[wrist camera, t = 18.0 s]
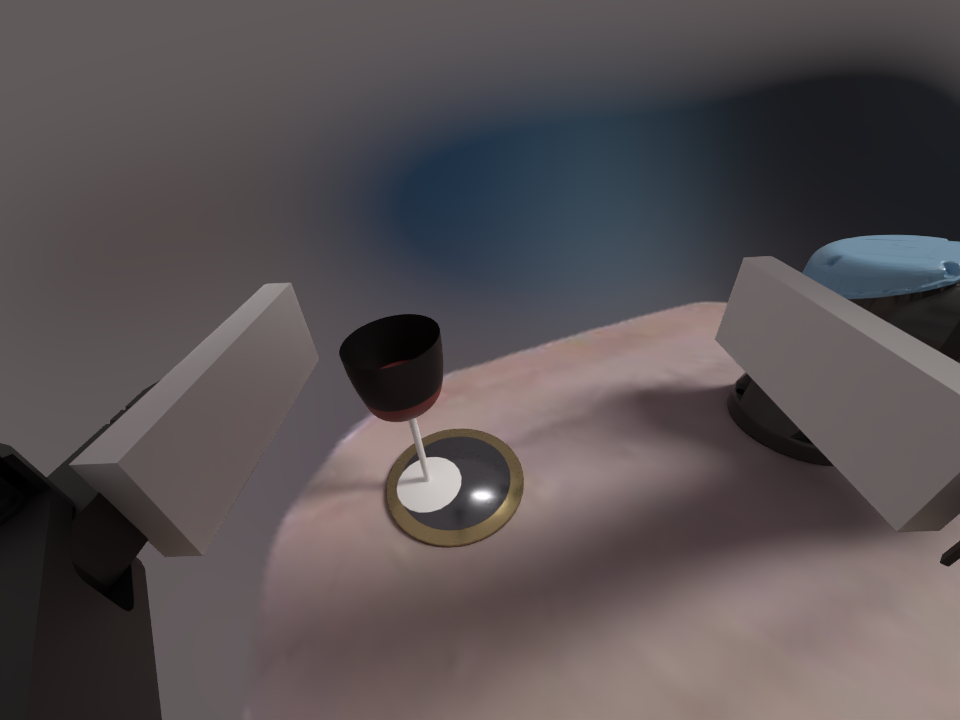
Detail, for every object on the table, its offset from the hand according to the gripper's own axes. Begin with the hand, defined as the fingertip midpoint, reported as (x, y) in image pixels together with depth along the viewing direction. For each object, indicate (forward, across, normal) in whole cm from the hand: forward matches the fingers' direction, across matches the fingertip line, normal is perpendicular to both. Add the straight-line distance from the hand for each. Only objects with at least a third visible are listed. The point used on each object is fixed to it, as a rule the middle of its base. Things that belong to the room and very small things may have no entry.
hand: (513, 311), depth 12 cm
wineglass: (+17, -9, -32) cm, 37 cm away
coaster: (+18, -6, -32) cm, 37 cm away
